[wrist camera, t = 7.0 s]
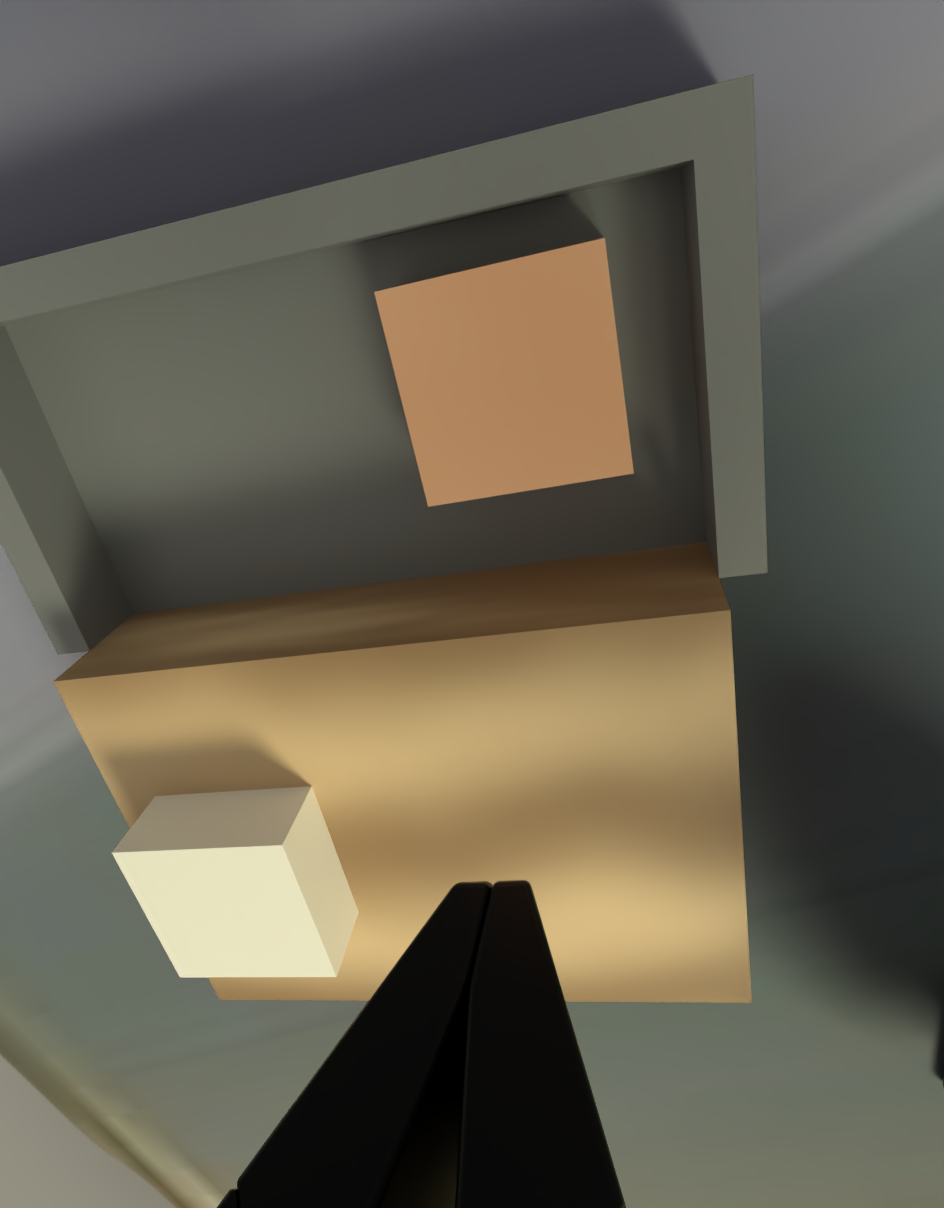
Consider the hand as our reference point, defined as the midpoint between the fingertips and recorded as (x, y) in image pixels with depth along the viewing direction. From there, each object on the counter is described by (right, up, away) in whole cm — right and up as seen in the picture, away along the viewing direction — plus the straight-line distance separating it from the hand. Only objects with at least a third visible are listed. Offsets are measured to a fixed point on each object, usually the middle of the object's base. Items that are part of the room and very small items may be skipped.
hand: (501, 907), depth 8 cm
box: (-3, +8, +10) cm, 13 cm away
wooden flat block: (-1, -1, +14) cm, 14 cm away
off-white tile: (-6, -4, +12) cm, 14 cm away
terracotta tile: (0, +8, +7) cm, 10 cm away
